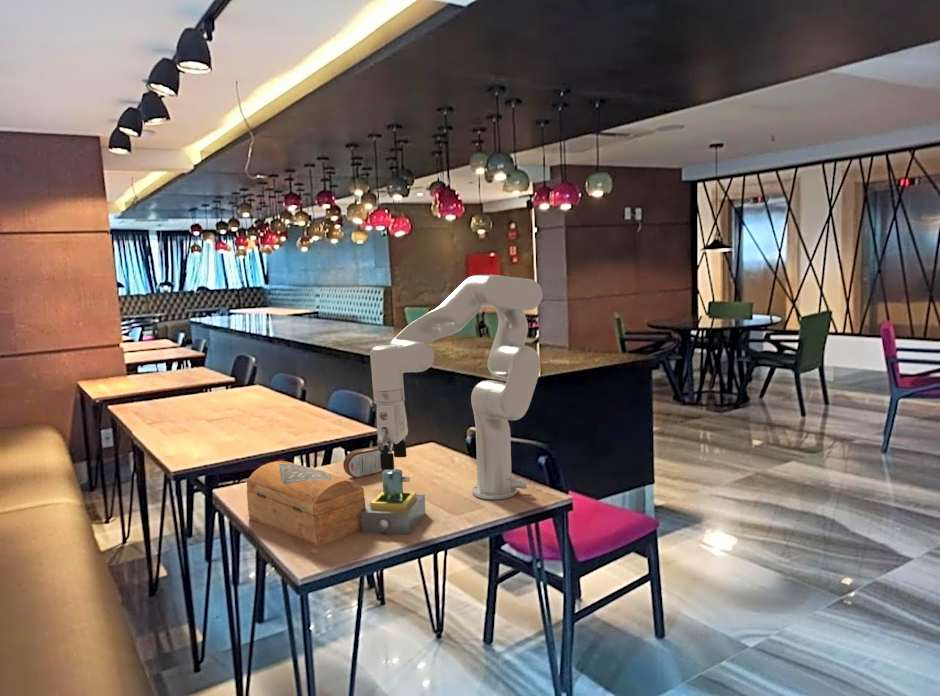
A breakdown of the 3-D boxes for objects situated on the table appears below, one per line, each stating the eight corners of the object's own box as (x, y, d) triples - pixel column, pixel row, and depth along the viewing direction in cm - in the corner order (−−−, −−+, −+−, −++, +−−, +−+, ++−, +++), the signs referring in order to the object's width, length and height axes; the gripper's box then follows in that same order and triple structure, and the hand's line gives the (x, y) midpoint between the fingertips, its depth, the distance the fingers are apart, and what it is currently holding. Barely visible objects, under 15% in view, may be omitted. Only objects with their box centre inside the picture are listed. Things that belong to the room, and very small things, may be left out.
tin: (387, 469, 218) (386, 443, 217) (392, 471, 216) (390, 445, 215) (343, 478, 210) (342, 452, 209) (348, 481, 207) (346, 454, 206)
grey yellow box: (425, 513, 178) (424, 489, 177) (407, 537, 163) (406, 510, 162) (381, 511, 180) (380, 487, 180) (359, 534, 165) (358, 508, 165)
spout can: (413, 500, 173) (411, 469, 172) (407, 507, 168) (405, 475, 168) (387, 499, 175) (385, 468, 174) (380, 506, 170) (379, 474, 169)
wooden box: (371, 527, 170) (368, 473, 169) (315, 549, 158) (311, 490, 157) (302, 502, 191) (298, 453, 189) (247, 519, 179) (243, 467, 177)
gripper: (392, 403, 159) (397, 474, 162) (413, 388, 176) (418, 452, 178) (361, 404, 161) (367, 474, 163) (386, 388, 178) (391, 452, 180)
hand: (394, 462), depth 171 cm, fingers open, 9 cm apart
